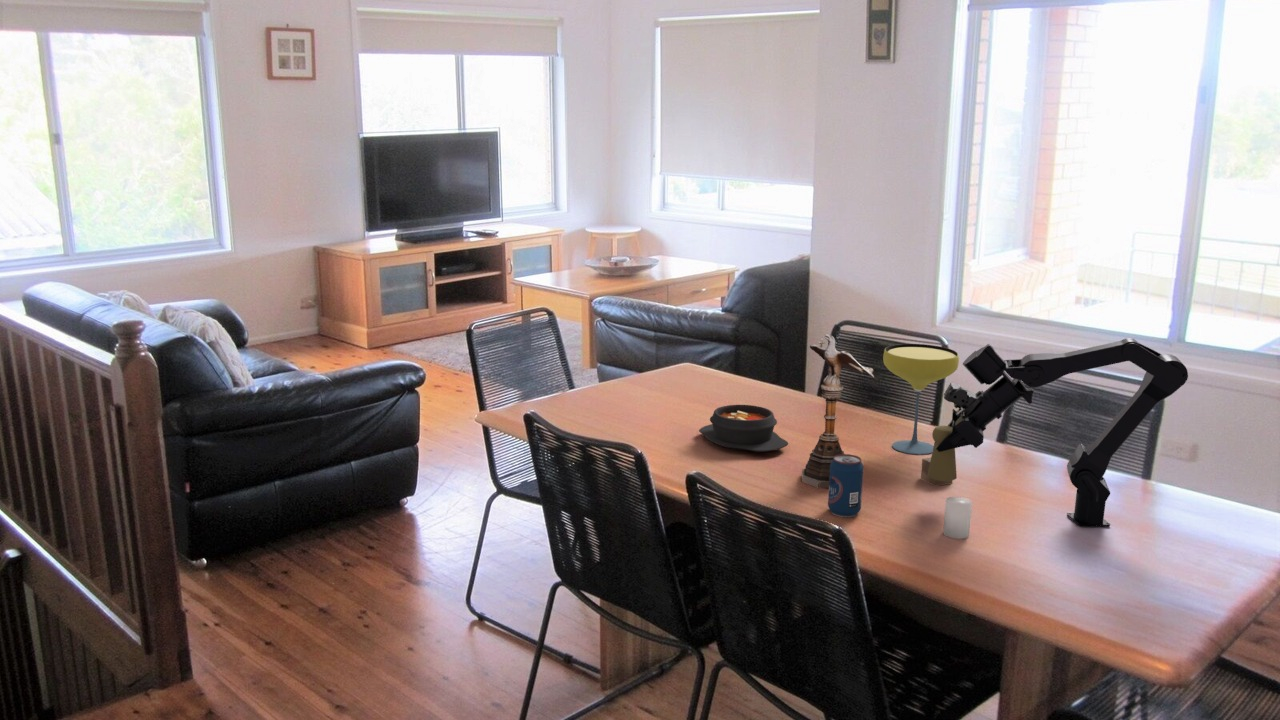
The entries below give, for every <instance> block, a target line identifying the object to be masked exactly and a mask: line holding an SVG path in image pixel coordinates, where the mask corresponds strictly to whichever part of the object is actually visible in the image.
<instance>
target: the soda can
mask: <svg viewBox="0 0 1280 720" xmlns="http://www.w3.org/2000/svg"><path fill="white" fill-rule="evenodd" d="M864 469H865V467H864V466H863V463H862V458H861V457H859V456H857V455H855V454H854V455H853V454H846V453H844V454H840V455H836V456H834V458H833V461H832V463H831V464H830V476H829V488H828V496H827V507H828V509H829V511H830V513H831V514H833V515H834V516H836V517H840V518H853V517H856V516H857V515H858V514H859V512H860V511H861V509H862V497H863V485H864V484H863V483H864Z"/></svg>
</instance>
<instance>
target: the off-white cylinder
mask: <svg viewBox="0 0 1280 720" xmlns="http://www.w3.org/2000/svg"><path fill="white" fill-rule="evenodd" d="M972 507H973V502H972V500H971V499H969V498H966V497H961V496H951V497H950V496H949V497H947V498H946V499H945V507H944V508H945V509H944V510H945V511H944V518H943V532H942V533H943V535H944V536H946V537H948V538H952V539H957V540H963V539H964V540H965V539H967V538H969V537H970V530H971V518H972Z"/></svg>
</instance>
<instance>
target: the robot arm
mask: <svg viewBox="0 0 1280 720" xmlns="http://www.w3.org/2000/svg"><path fill="white" fill-rule="evenodd" d="M1124 362H1125V363H1126V362H1130V363H1132V364H1134V365H1135V366H1136V367H1139V368H1140V369H1142V370H1143V371H1145V374H1144V376H1143V378H1142V381H1141V383H1140V385H1139V388H1138V389H1137V391H1135V392H1134V394H1133V395H1132V396H1131V398H1130V399H1129V400H1128V402H1126V404H1125V405H1124V406H1123V407H1122V409H1121V410H1120V411H1119V412H1118V413H1117V414H1116V416H1115V417H1114V418H1113V419H1112V420H1111V422H1110V423H1109V424H1108V425H1107V426H1106V427H1105V429H1104V430H1103V431H1102V432H1101V433H1100V435H1099V436H1098V437H1097V438H1096V440H1094V442H1092V443H1090V444H1089V445H1087V446H1085V445H1084V444H1083V443H1081V442H1080V443H1079V444H1078V446H1077V447H1076V449H1075V450H1074V451H1073V453H1072V454H1070V455H1068V462H1067V465H1066V469H1067V473H1068V477H1069V480H1070V482H1071V484H1072V485H1073V486H1074V487H1075V488H1076V494H1075V502H1074V512H1067V513H1066V516H1067V517H1068V518H1069V519H1070V520H1072V521H1073V522H1074V523H1075V525H1077V526H1079V527H1083V528H1084V527H1085V528H1087V527H1089V528H1090V527H1093V528H1094V527H1101V528H1103V527H1106V528H1107V527H1111V523H1109V522H1108V521H1107V520H1106V519H1105V511H1106V510H1105V508H1106V504H1107V503H1106V501H1108V498H1109V497H1110V495H1111V491H1110V489H1109V486H1108V484H1107V482H1106V479H1105V477H1104V475H1105V473H1107V472H1106V471H1107V469H1108V467H1109V464H1110V462H1111V459H1112V457H1113V456H1114V454H1116V453H1117V451H1118V450H1119V449H1120V447H1122V445H1123V444H1124V443H1125V442H1126V441H1127V440H1128V438H1129V437H1130V436H1131V435H1132V434H1133V432H1134V431H1135V430H1136V429H1137V428H1138V426H1139V425H1140V424H1141V423H1142V422H1143V421H1144V420H1145V419H1146V417H1148V415H1149V414H1150V413H1151V412H1152V410H1153V409H1154V407H1156V405H1157V404H1158V403H1160V402H1161V401H1163V400H1165V399H1167V398H1168V397H1170V396H1172V395H1173V394H1175V393H1176V392H1177V391H1178V390H1179V389H1180V388H1181V387H1183V386H1184V385H1185V384H1186V383H1187V381H1188V379H1189V372H1188V369H1187V367H1186V366H1185V364H1184V363H1183V362H1182V361H1181V360H1180V359H1179V358H1178V357H1177V356H1175V355H1173V354H1169V353H1165V354H1162V353H1160V352H1158V351H1156V350H1154V349H1152V348H1151V347H1149V346H1147V345H1144V344H1142V343H1140V342H1139V341H1138V340H1136V339H1135V338H1131V337H1126V338H1124V339H1122V340H1118V341H1114V342H1109V343H1105V344H1100V345H1096V346H1095V345H1094V346H1092V347H1087V348H1081V349H1077V350H1072V351H1069V352H1068V351H1067V352H1064V353H1063V352H1061V353H1051V352H1050V353H1049V352H1047V353H1044V352H1043V353H1030V354H1026V355H1024V356H1023V357H1022V358H1018V359H1013V358H1012V359H1003V358H1002V357H1001V356H1000V355H999V354H998V352H996V350H995V347H993V346H992V345H991V344H990V343H987V344H986V345H985V346H983V347H980V348H979V349H977V350H974V351H973V352H972V353H971V354H969V355H968V357H966V359H965V360H964V361H963V362H962V365H963V366H964V368H965V369H966V370H967V371H968V373H970V374H971V375H972V376H973V377H974V379H976V381H978V383H980V385H984V384H985V385H988V386H989V387H988V388H986V390H984V391H983V390H979V391H977V392H976V393H974V392H972V391H971V390H969V389H968V388H966V387H965V386H962V385H959V384H958V383H955V382H953V381H951V382H950V383H949V384H948V387H947V388H946V389H945V391H944V393H943V399H944V400H945V401H947V402H949V403H953V406H954V408H952V412H951V413H952V414H951V419H950V422H949V423H948V425H947V426H950V427H953V428H952V431H951V432H950V433H949V434H948V435H947V436H946V437H945V438H944V439H943V440H942V442H941V443H940V444H939V445H938V446H937V447H936V449H937V450H938V451H939V452H942V451H946V450H950V449H954V448H955V449H958V448H962V447H967V446H973V447H974V448H976V449H977V448H978V447H980V446H981V445H982V444H983V443H984V437H985V436H984V431H985V430H986V429H987V426H988V425H989V424H990V423H992V422H993V421H994V420H995V419H997V420H999V419H1001V418H1002V417H1003V413H1004V412H1006V411H1007V410H1009V409H1010V407H1012V406H1013V405H1014V404H1016V403H1017V402H1019V401H1020V400H1021V399H1022V398H1023V399H1024V400H1025V402H1027V404H1029V405H1031V404H1033V395H1034V389H1033V388H1040V387H1043V386H1044V385H1048V384H1050V383H1053V382H1055V381H1057V380H1059V379H1060V378H1062V377H1064V376H1067V375H1069V374H1073V373H1079V372H1083V371H1087V370H1093V369H1096V368H1102V367H1106V366H1112V365H1116V364H1119V363H1124ZM990 385H991V386H990ZM1025 385H1026V386H1028V388H1027V387H1026V386H1025ZM1029 387H1030V388H1029ZM955 409H957V410H955Z"/></svg>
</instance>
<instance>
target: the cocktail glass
mask: <svg viewBox="0 0 1280 720" xmlns="http://www.w3.org/2000/svg"><path fill="white" fill-rule="evenodd" d="M882 358H883V365H884V366H885V367H886V368H887V370H889V372H890V373H892V374H894V375H895V376H897V377H899V378H901V379H902V380H904V381H906V382H907V383H908V384H910V386H911V387H912V389H913V390H914V392H915V391H916V402H915V413H914V414H915V415H914V424H913V432H912V436H911V439H909V440H908V439H907V440H899V441H895V442H892V444H891V447H892V448H893V449H894V450H895V451H897V452H899V453H903V454H907V455H916V456H917V455H918V456H919V455H920V456H922V455H923V456H924V455H932V452H933V447H934V444H931V443H928V442H926V441H919V440H918V417H919V402H920V393H921V392H922V391H924V389H926V388H927V386H928V385H930V384H933V383H935V382H937V381H939V380H940V381H941V380H942V379H945V378H947V377H949V376H951V375H952V374H953V373H955V372H956V371H957V370H958V367H959V363H960V356H959V353H958V352H957V351H956V350H953V349H951V348H948V347H944V346H939V345H933V344H924V343H923V344H922V343H921V344H920V343H902V344H901V343H899V344H894V345H893V344H892V345H889V346H887V347H885V348H884V350H883V357H882Z"/></svg>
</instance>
